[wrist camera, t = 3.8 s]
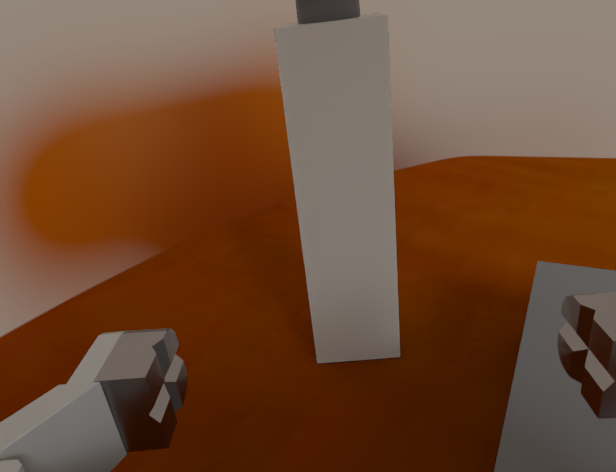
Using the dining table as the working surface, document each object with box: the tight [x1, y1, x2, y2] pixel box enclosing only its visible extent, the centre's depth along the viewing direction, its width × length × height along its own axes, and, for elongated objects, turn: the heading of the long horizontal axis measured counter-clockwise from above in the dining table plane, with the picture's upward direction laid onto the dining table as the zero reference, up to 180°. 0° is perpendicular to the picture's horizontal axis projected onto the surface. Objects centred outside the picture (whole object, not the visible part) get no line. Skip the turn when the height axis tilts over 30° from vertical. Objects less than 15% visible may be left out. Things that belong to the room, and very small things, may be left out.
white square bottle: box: [274, 0, 400, 363], centre depth 22 cm, size 4×4×17 cm
